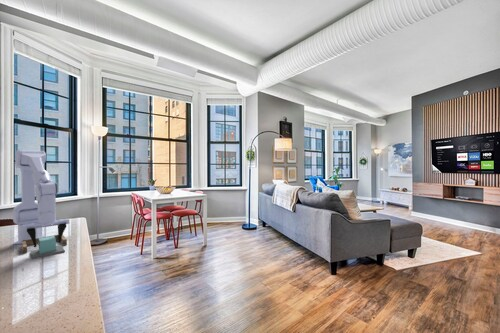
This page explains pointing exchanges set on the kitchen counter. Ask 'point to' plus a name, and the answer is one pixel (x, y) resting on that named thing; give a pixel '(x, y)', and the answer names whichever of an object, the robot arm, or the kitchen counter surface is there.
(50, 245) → the teal block
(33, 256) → the charcoal mat
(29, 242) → the brown u-shaped bracket
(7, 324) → the kitchen counter surface
